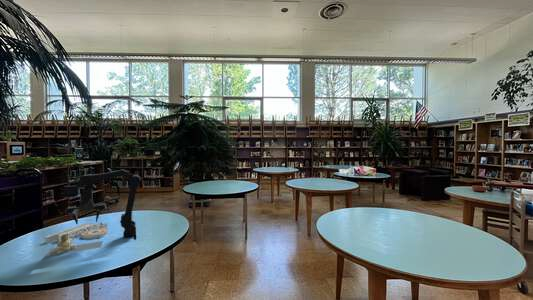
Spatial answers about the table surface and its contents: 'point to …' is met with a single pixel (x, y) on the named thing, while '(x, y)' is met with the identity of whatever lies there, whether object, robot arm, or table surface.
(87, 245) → the wall board
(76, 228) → the sign
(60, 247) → the cabinet block
